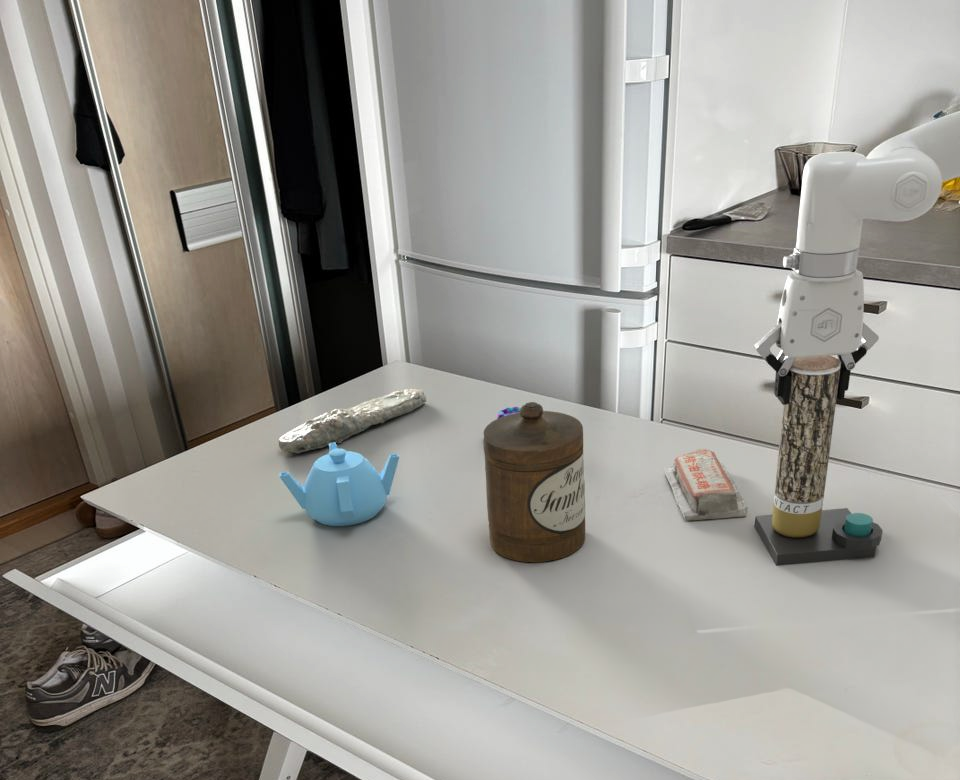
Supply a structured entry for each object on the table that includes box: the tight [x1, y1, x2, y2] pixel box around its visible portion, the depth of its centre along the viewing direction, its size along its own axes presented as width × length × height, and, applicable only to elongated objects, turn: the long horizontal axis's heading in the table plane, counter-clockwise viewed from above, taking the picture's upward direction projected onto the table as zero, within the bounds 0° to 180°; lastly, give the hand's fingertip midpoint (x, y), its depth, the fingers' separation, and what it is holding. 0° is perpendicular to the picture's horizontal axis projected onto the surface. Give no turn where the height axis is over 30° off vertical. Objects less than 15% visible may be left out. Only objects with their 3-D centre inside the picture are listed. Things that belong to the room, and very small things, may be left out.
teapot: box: [278, 442, 400, 527], centre depth 162 cm, size 15×15×11 cm
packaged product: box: [664, 448, 748, 521], centre depth 158 cm, size 18×5×10 cm
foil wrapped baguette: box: [278, 388, 427, 454], centre depth 194 cm, size 35×5×10 cm
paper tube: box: [772, 355, 841, 538], centre depth 137 cm, size 7×7×25 cm
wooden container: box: [482, 401, 586, 563], centre depth 146 cm, size 15×15×22 cm
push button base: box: [753, 507, 884, 567], centre depth 143 cm, size 15×13×4 cm
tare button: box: [844, 512, 874, 536], centre depth 139 cm, size 4×4×2 cm
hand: (810, 397), depth 133 cm, fingers closed on paper tube, 6 cm apart
